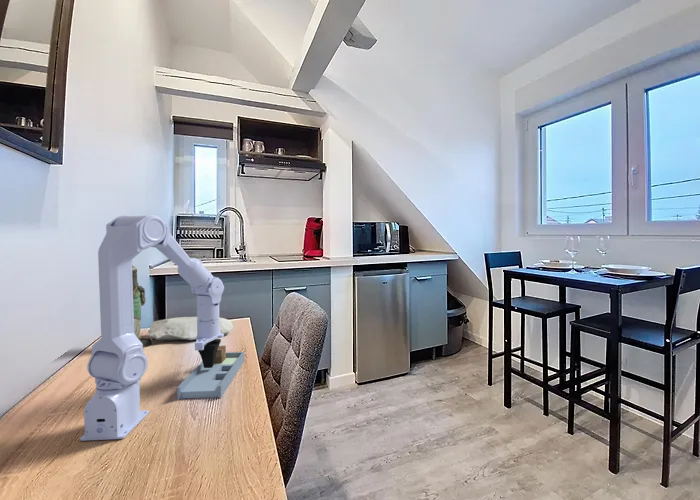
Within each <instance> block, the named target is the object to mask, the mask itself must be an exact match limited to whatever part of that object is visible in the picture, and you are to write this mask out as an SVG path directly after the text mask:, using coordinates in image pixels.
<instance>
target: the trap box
mask: <svg viewBox="0 0 700 500" xmlns="http://www.w3.org/2000/svg"><path fill="white" fill-rule="evenodd" d="M244 363H245V351H234V352H233V351H231V352H228V351H226V359H225V360H224V361H223V362H222V363H219V364H214V365H213V367H212V368H204V365H203V362H202V361H201V362H200V363H199V364H198V366H196V367H195V369H193V371H192V372H191V373H189V375H188V376H187V377H185V379H184V380H183V381H182V382H181V383H180V384H179V385H178V386H177V387H176V400H177V401H181V399H202V398H203V399H204V398H207V399H208V398H218V399H222V397H223V396H224V394H225V393H226V392H227V390H228V389H229V386H230V385H231V384H232V381H233V380H234V378H235V377H236V375H237V373H238V372H239V371H240V369H241V367H242V365H243V364H244Z"/></svg>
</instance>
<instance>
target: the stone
mask: <svg viewBox="0 0 700 500" xmlns="http://www.w3.org/2000/svg"><path fill="white" fill-rule="evenodd" d="M219 326H220V333H224V335H226V334H228V333H230V332H231V331H233V330H234V329H233V328H234V325H233V323H232V321H231V320H229V319H227V318H225V317H220V316H219ZM147 336H148V337H151V338H152V339H153V340H156V341H180V340H182V341H183V340H187V341H193V340H194V341H195V340H196V337H197V316H182V317H180V316H179V317H171V318H164V319H158V320H155V321H153V322H151V324H150V326H149V329H148V335H147Z"/></svg>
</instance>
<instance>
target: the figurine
mask: <svg viewBox="0 0 700 500" xmlns="http://www.w3.org/2000/svg"><path fill="white" fill-rule="evenodd" d="M132 281H133V312H134V334H135V335H136V337H137V338H138V339H139V340H140V341H141V343H142V344H143V348H146V347H147V346H150V345H152V344H153V341H152V339H151V338H148V337H142V336H141V325H142V324H141V323H142V322H141V320H142V317H141V316H142V306H144V305H145V303H146V289H145V288H144V287H143V286H141V285H140V284H139V282H138V269H137V267H136V266H134V265H133V264H132Z"/></svg>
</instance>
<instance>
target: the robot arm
mask: <svg viewBox="0 0 700 500" xmlns="http://www.w3.org/2000/svg"><path fill="white" fill-rule="evenodd" d="M105 226H106V227H105V228H106V229H105V231H106V233H105V235H104V237H103V240H102V242H101V244H100V245H99V248H98V251H97V259H98V260H97V261H98V262H97V263H98V284H99V286H98V287H99V308H100V310H99V312H100V313H99V314H100V316H99V317H100V336H101V337H100V339H98V340H97V341H96V342H95V343H94V344H93V345H91V356H90V358H89V360H88V362H87V366H86V367H87V369H86V370H87V372H88V374H89V375H90V377H92V378H94V382H95V385H96V387H95V392H94V393H93V396H92V397H91V398H90V399H89V400H88V401H87V402H86V404H85V406H84V413H83V415H84V416H83V417H84V418H83V419H84V421H83V422H84V434H83V435H82V436H81V437H80V438H79V440H80V442H81V441H83V442H85V441H101V440H103V441H106V440H120V439H121V440H122V439H125V438H126V437H127V436H128V435H129V434H130V433H131V432H132V431H133V430H134V428H136V426H137V425H139V423H140V422H142V421H143V419H145V418H146V416H148V415H149V414H150V410H141V399H140V398H141V396H140V395H141V394H140V393H141V391H140V390H141V389H140V381H141V380H142V377H143V376H144V375H145V373H146V371H147V368H148V357H147V355H146V354H145V353H144V352H145V351H144V347H143V344H142V343H141V341H140V340H139V339H138V338H137V337H136V335H135V334H134V312H133V281H132V265H133V259H135V258H136V256H138V255H139V254H141V252H143V251H145V250H146V249H149V248H155V249H156V250H157V251H159V252H160V253H161V254H162V255H163V256H165V257H166V258H167V259H168V260H169V261H171V262H172V263H173V264H174V265H175V266H176V267H177V274H178V275H179V276H180V277H181V278H183V281H185V282H186V283H187V284H188V285H189V286H190V290H191V293H192V295H195V296H196V317H197V337H196V339H195V340H196V341H195V342H194V350H195V351H198V354H199V355H200V357H201V362H203V365H204V368H212V367H213V365H214V362H215V357H216V352H217V349H218V347H219V346H220V345H221V342H222V338H223V337H224V336H225V334H224V333H220V326H219V317H220V304H221V301H222V295H223V293H224V291H225V285H224V283H223V281H222V280H221V278H219V277H218V276H214V275H213V274H212V272H211V271H210V270H208V269H207V268H206V266H205V265H203V261H202V260H201V259H200V258H196V257H190V256H189V255H188V254H187V253H186V251H185V250H184V249H183V248H182V246H181V245H180V244H179V243H178V241H177V240H176V239H175V238H174V236H173V235H172V234H171V227H170V226H169V225H167V224H166V223H165V221H164V220H163V219H162V218H161V217H160V216H158V215H156V214H148V215H120V216H117V217H115V218H114V219H113V220H111V221H110V222H108V223H107V224H105Z"/></svg>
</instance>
